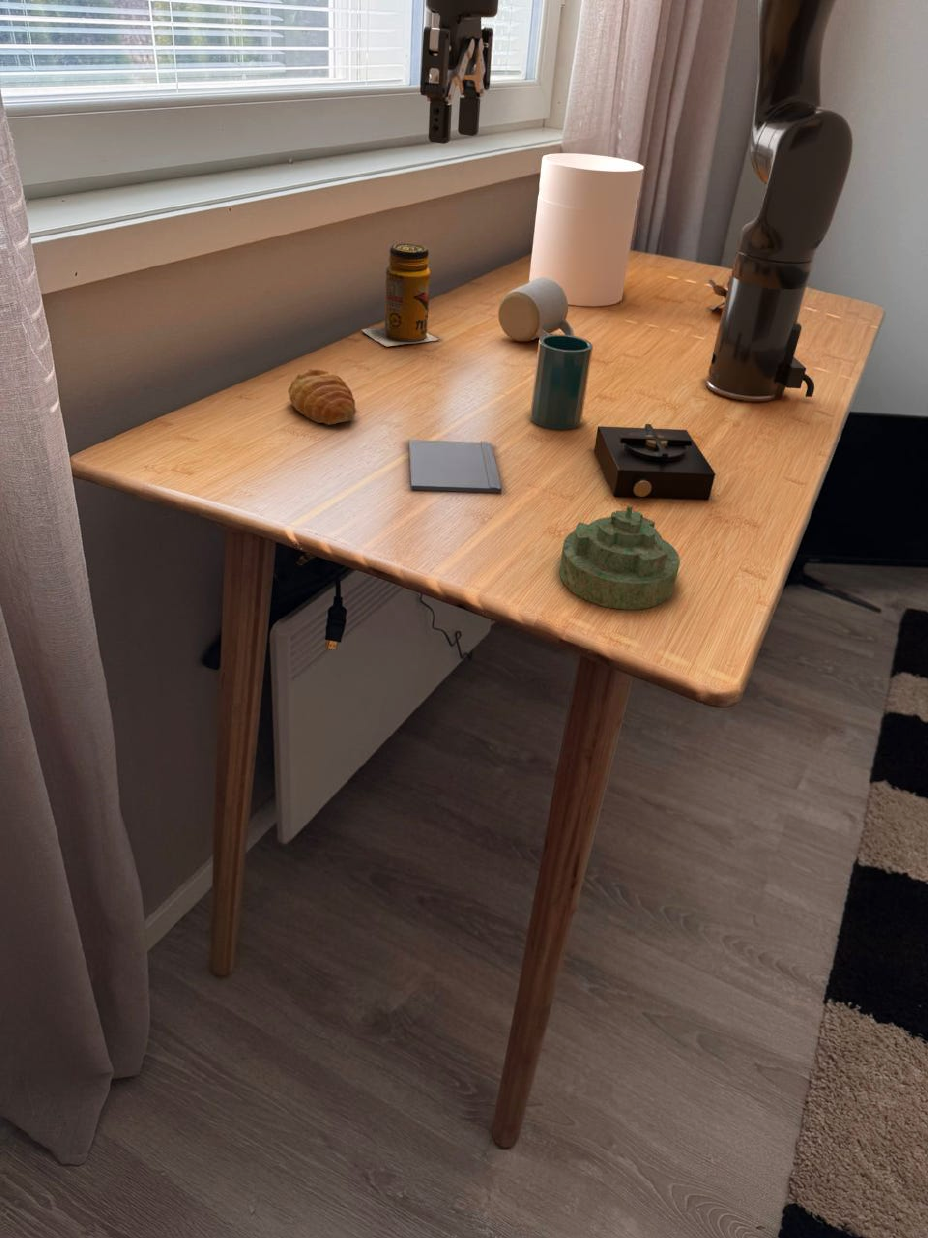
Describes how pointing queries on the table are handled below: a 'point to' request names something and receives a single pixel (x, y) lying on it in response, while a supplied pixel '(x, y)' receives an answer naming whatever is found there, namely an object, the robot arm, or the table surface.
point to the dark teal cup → (560, 381)
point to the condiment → (405, 297)
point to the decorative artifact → (619, 562)
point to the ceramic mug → (534, 311)
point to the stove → (653, 463)
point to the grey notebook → (453, 466)
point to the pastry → (322, 397)
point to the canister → (585, 225)
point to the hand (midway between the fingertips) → (454, 138)
